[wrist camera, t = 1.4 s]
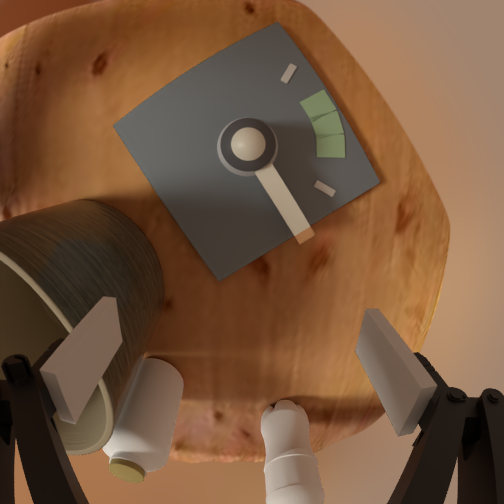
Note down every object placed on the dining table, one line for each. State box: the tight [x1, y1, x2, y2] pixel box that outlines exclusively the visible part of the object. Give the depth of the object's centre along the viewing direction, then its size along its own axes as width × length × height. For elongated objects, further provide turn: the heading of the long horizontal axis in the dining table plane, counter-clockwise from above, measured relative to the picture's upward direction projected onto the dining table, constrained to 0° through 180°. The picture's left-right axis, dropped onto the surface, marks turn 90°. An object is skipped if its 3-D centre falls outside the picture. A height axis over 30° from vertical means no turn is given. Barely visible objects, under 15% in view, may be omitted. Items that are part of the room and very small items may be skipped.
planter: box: [0, 200, 164, 455], centre depth 27 cm, size 22×22×20 cm
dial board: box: [113, 22, 380, 282], centre depth 32 cm, size 22×22×1 cm
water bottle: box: [261, 400, 324, 504], centre depth 32 cm, size 7×7×25 cm
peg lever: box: [220, 118, 315, 244], centre depth 30 cm, size 13×5×6 cm, turn 33°
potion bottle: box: [103, 358, 184, 483], centre depth 33 cm, size 8×8×18 cm
